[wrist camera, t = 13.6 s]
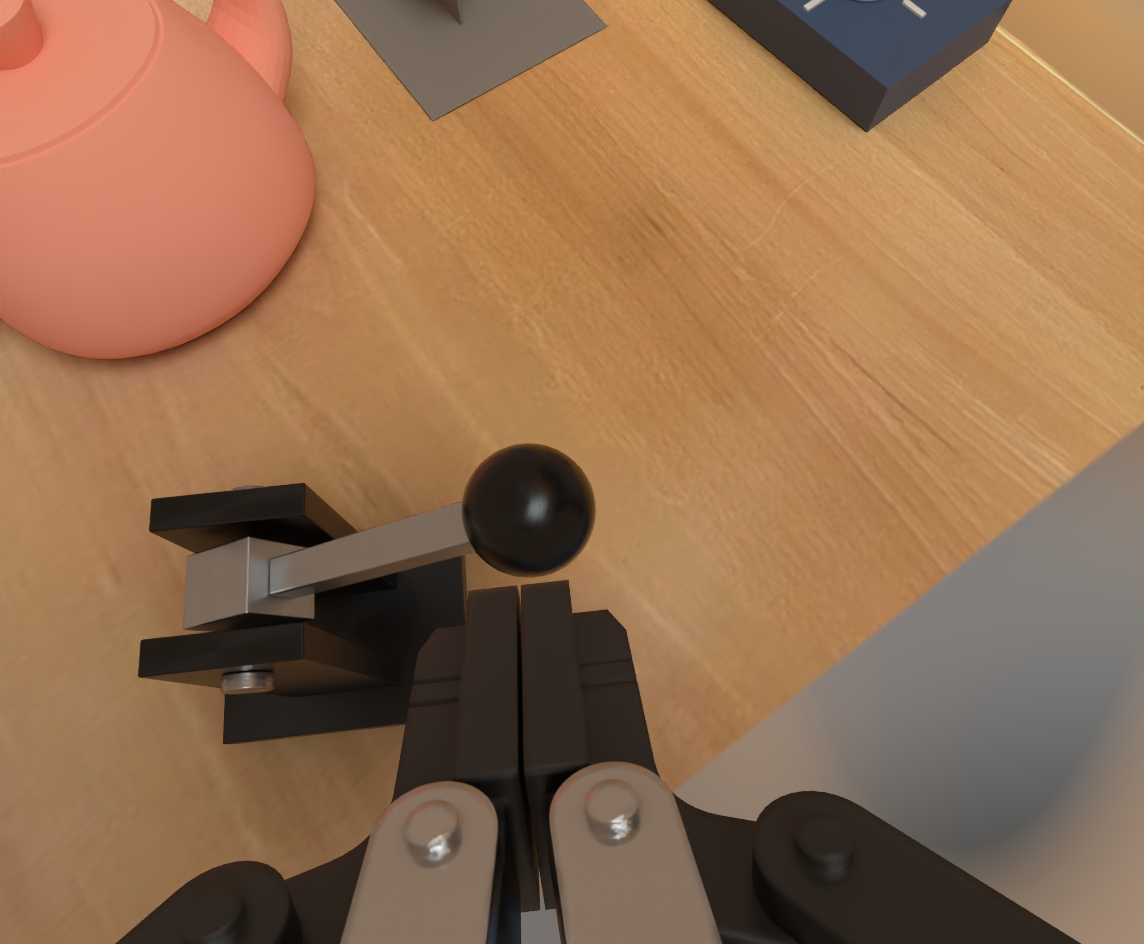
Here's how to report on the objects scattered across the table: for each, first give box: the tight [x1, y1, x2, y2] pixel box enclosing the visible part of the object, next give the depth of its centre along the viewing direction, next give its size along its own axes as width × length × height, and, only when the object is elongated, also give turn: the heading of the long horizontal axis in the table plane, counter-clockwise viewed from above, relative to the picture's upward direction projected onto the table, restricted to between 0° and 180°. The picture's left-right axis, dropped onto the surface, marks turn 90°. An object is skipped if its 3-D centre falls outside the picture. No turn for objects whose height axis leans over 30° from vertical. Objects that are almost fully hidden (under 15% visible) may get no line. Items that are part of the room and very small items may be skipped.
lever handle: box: [183, 443, 596, 632], centre depth 20 cm, size 13×3×3 cm, turn 96°
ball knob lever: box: [138, 483, 467, 744], centre depth 27 cm, size 10×8×13 cm
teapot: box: [0, 0, 315, 359], centre depth 34 cm, size 25×17×13 cm
